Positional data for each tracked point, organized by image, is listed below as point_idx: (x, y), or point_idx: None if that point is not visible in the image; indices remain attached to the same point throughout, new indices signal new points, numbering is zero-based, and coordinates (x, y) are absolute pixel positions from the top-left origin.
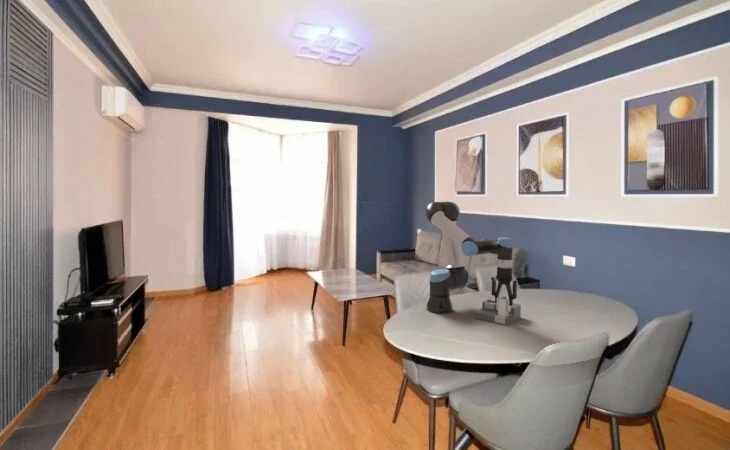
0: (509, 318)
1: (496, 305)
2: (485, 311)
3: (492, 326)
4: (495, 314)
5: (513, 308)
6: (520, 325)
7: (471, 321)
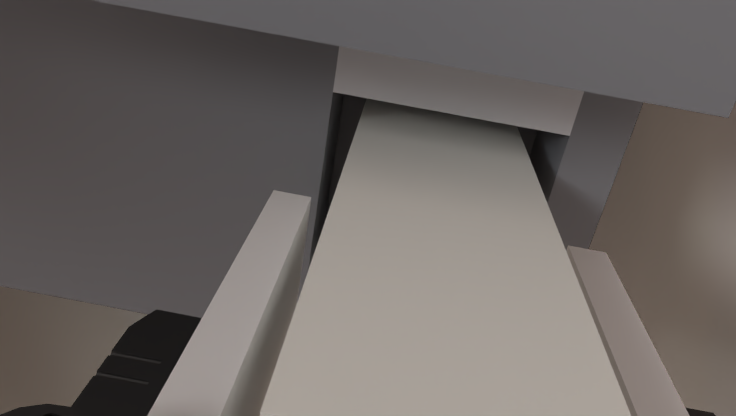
0: None
1: (136, 6)
2: (28, 148)
3: None
4: None
5: (693, 108)
6: (728, 189)
7: (30, 350)
